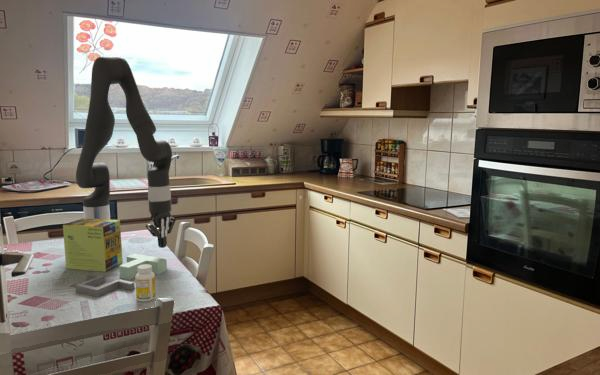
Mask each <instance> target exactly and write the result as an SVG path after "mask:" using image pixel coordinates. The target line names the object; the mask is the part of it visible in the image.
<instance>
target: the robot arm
mask: <svg viewBox="0 0 600 375" xmlns="http://www.w3.org/2000/svg"><path fill="white" fill-rule="evenodd" d="M90 82H91V83H90V95H89V103H88V112H87V116H86V123H85V130H84V138H83V141H82V142H83V143H82V147H81V151H80V155H79V158H78V163H77V166H76V170H75V181H76V184H77V186H78V187H79V188H81V189H94V190H93V191H92V192H91V193H90V194H88V195H87V196H85V197H84V198H83V199H82V205H83V206H82V207H83V208H82V209H83V218H87V219H108V220H111V212H110V210H111V209H110V197H111V192H110V191H111V188H110V185H111V182H110V178H111V176H110V170H109V167H108V165H107V164H106V163H104V162H95V160H96V158H97V156H98V155H99V153H100V152H101V151H102V150H103V149H104V148H105V146H106V145H108V144H109V142H110V141H111V139H112V137H113V134H114V133H113V132H114V127H115V123H116V121H115V119H116V118H115V114H114V112H113V110H112V107H111V106H110V103H109V91H110V87H111V85H119V86H120V87H121V90H122V91H123V93H124V98H125V113H126V114H125V115H126V118H127V121H128V122H129V124H130V126H131V128H132V130H133V132H134V134H135V135H136V140H137V143H138V148H139V151H140V154H141V155H142V157H143V158H144V159H145V160H146V161H147V162H150V163H153V166H152V167H151V168H150V169H149V170H148V171H147V186H148V189H147V199H148V200H147V201H148V211H149V213H150V218H149V219H150V221H149V223H146V224H145V228H146V230H147V231H148V232H149V233H150V234H151V235H152V237H156V238H157V246H158V248H161V249H163V248H166V247H167V243H168V242H167V241H168V240H167V237H168V235H170V234H171V232H172V231H173V229H174V225H175V223H176V220H177V218H175V217H173V216H172V214H171V212H172V196H171V194H172V193H171V187H170V175H169V174H170V169H171V164H172V163H171V162H172V159H173V158H172V157H173V152H172V147H171V145H170V143H169V142H168V141H167V140H163V139H159V140H157V139H155V136H154V134H155V133H156V132H157V127H156V125H155V122H154V121H153V119H152V118H151V116H150V114H149V112H148V110H147V108H146V106H145V104H144V102H143V99H142V97H141V94H140V92H139V88H138V85H137V83H136V79H135V76H134V74H133V71H132V69H131V67H130V64H129V63H128V61H127V59H125V57H122V56H116V55H114V56H113V55H112V56H111V55H109V56H108V55H107V56H98V57H97V58H96V59H95V60H94V61H93V64H92V69H91V80H90Z"/></svg>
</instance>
